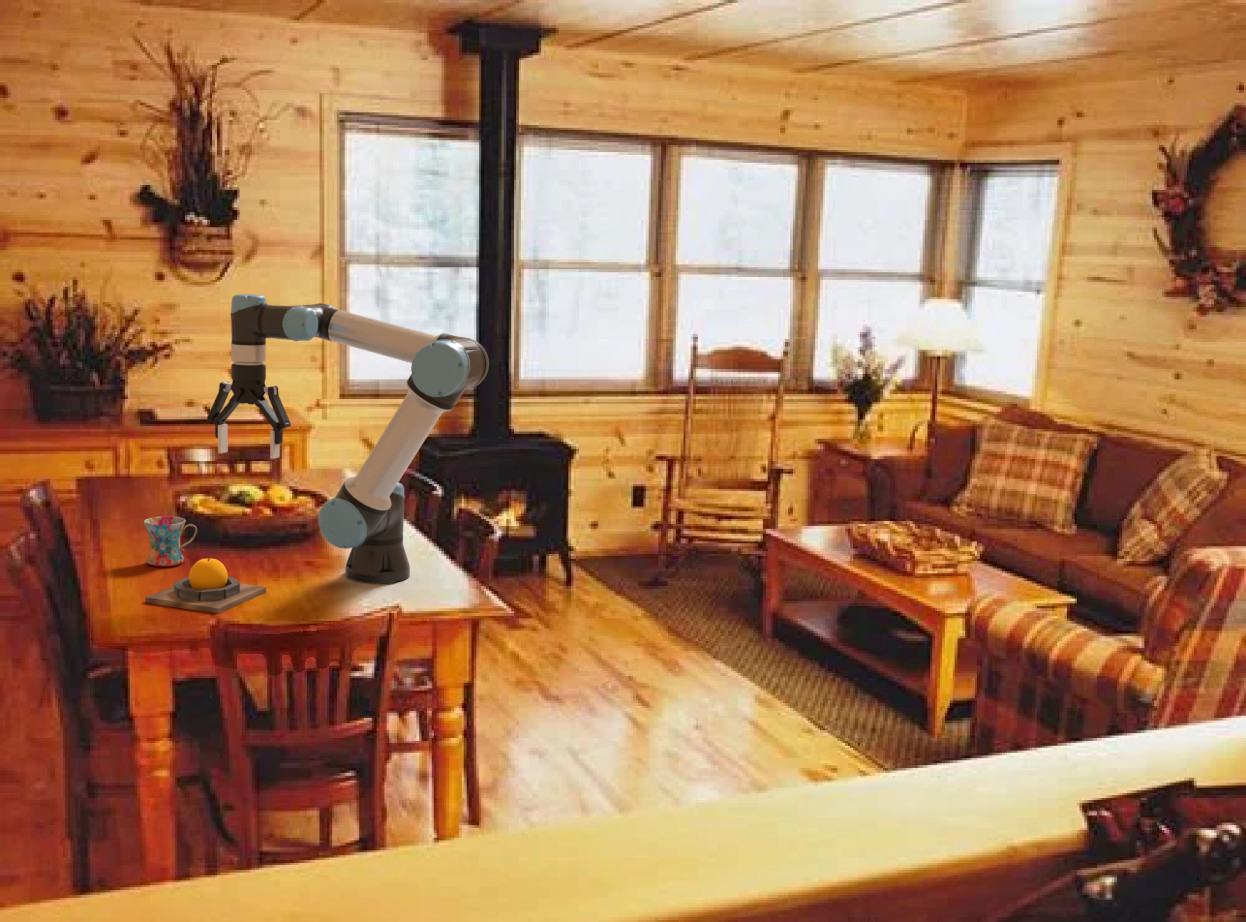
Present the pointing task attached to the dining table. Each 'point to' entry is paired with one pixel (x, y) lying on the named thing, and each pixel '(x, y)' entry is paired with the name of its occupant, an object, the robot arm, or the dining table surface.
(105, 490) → the dining table surface
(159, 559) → the mug
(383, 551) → the robot arm
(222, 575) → the orange fruit
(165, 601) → the ring board
